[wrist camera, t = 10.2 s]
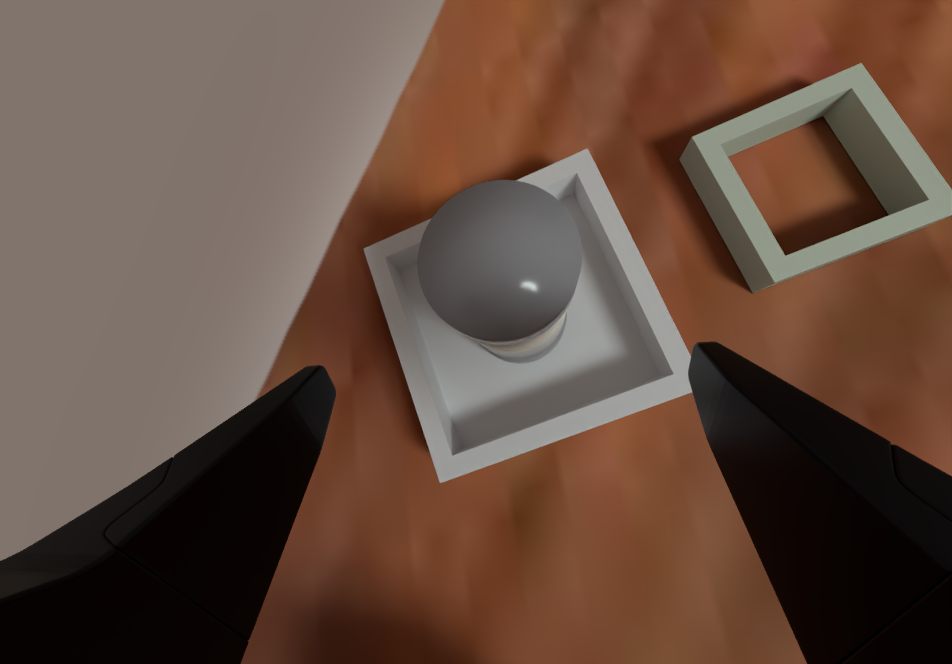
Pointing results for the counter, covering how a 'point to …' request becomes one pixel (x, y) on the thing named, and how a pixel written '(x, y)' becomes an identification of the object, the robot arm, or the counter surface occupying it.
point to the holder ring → (867, 143)
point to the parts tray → (555, 375)
